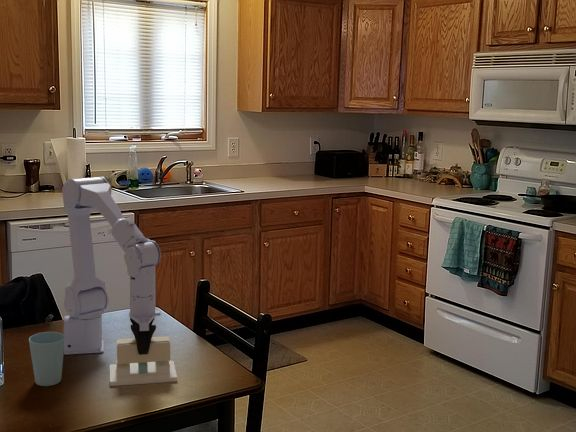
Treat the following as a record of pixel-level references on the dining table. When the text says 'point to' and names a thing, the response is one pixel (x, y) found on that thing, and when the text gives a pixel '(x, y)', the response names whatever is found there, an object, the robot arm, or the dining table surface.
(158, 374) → the display stand
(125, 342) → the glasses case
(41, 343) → the cup
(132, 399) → the dining table surface
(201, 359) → the dining table surface
